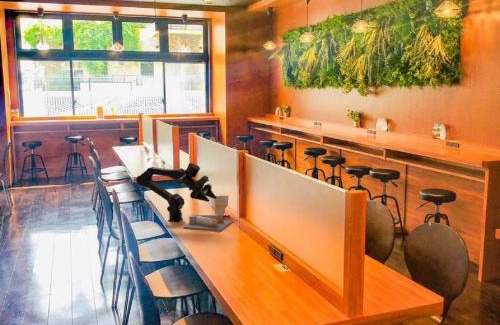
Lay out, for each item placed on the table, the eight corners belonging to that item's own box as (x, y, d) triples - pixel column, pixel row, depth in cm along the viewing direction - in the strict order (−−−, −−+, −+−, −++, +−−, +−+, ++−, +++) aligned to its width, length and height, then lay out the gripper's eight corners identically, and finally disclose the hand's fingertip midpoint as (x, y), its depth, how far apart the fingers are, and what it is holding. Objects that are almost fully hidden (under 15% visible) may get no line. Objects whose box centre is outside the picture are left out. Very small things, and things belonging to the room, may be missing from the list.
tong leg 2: (198, 221, 282) (198, 215, 282) (199, 221, 283) (199, 214, 283) (223, 222, 281) (223, 215, 280) (223, 221, 282) (223, 214, 282)
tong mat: (183, 228, 274) (183, 219, 273) (197, 219, 292) (197, 211, 291) (220, 231, 267) (220, 222, 266) (232, 222, 285) (232, 213, 284)
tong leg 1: (196, 223, 279) (195, 216, 279) (197, 222, 280) (197, 216, 280) (216, 227, 272) (215, 219, 271) (217, 226, 273) (217, 219, 272)
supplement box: (229, 214, 301) (228, 193, 298) (228, 217, 296) (227, 195, 294) (215, 214, 301) (215, 193, 299) (214, 216, 297) (213, 195, 294)
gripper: (190, 174, 272) (212, 190, 268) (205, 170, 289) (226, 185, 285) (181, 190, 275) (202, 207, 271) (196, 185, 292) (216, 201, 288)
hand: (212, 199), depth 279 cm, fingers open, 9 cm apart
